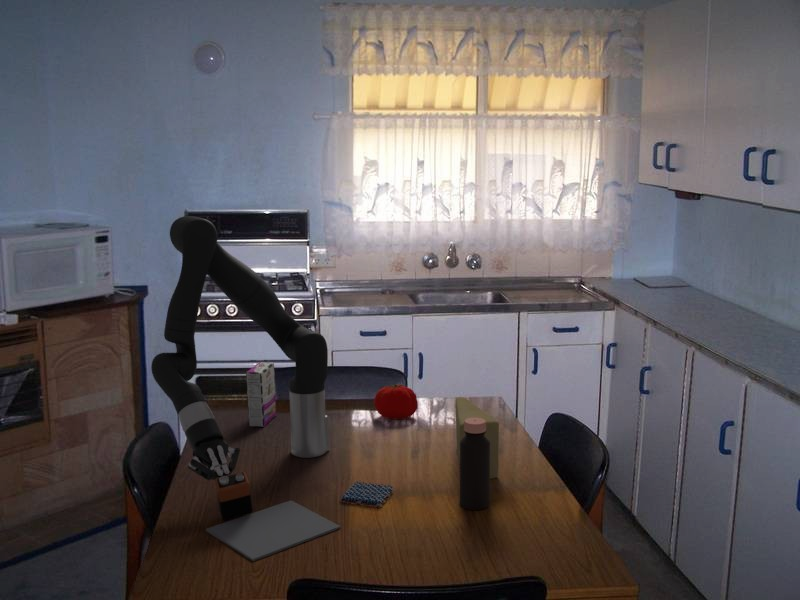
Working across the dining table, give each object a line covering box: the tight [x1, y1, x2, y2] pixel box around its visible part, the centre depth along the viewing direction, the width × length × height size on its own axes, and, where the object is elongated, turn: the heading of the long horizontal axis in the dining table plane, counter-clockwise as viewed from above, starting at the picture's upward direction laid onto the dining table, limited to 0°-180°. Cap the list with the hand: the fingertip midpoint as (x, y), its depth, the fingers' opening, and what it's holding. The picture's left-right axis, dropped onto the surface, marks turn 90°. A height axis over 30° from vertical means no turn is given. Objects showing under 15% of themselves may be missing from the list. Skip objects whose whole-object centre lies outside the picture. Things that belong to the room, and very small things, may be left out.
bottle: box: [459, 417, 491, 511], centre depth 204 cm, size 7×7×20 cm
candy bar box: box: [245, 361, 278, 428], centre depth 263 cm, size 11×5×16 cm, turn 168°
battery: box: [214, 471, 253, 521], centre depth 198 cm, size 4×7×10 cm, turn 110°
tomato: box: [373, 383, 419, 420], centre depth 266 cm, size 11×13×10 cm
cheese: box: [455, 396, 500, 480], centre depth 229 cm, size 22×10×15 cm, turn 9°
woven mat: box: [339, 480, 395, 508], centre depth 211 cm, size 10×11×2 cm
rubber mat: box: [205, 499, 341, 562], centre depth 194 cm, size 22×18×1 cm
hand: (229, 492), depth 201 cm, fingers closed
